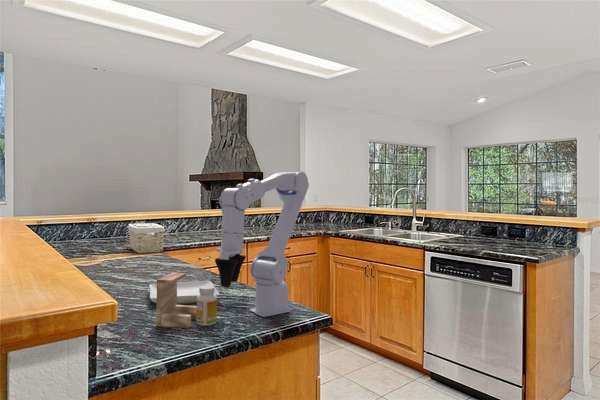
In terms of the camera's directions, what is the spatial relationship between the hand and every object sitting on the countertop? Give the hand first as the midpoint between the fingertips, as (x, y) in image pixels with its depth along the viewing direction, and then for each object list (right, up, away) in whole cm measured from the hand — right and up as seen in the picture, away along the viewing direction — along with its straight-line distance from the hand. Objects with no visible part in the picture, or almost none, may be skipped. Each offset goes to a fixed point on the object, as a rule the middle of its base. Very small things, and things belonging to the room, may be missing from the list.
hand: (229, 284), depth 108 cm
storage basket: (-71, -7, +129) cm, 148 cm away
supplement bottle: (-7, -11, +2) cm, 13 cm away
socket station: (-14, -11, +3) cm, 18 cm away
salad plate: (-21, -11, +28) cm, 36 cm away
